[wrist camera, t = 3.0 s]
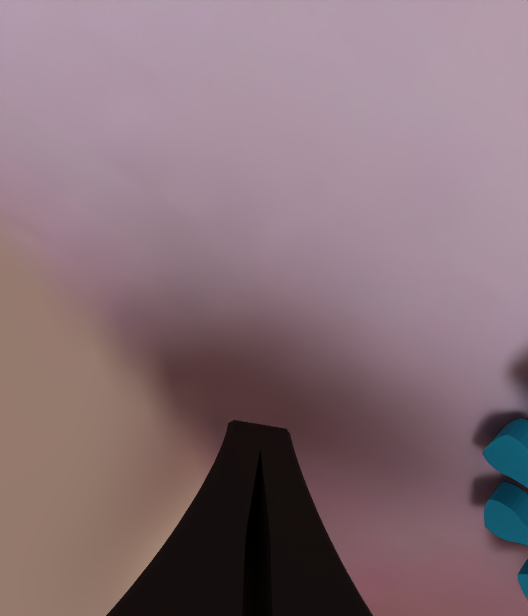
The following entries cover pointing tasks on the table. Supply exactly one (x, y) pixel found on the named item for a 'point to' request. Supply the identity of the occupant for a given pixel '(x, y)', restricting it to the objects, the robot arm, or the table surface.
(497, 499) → the blue virus model
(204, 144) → the table surface
